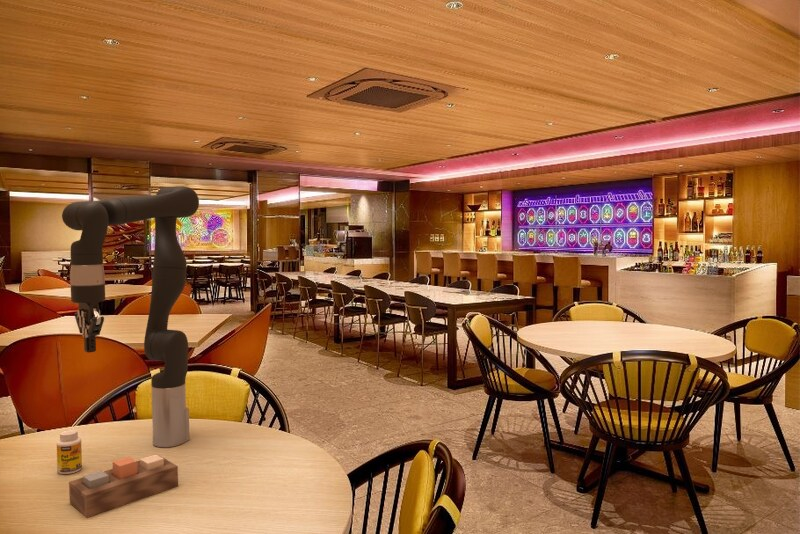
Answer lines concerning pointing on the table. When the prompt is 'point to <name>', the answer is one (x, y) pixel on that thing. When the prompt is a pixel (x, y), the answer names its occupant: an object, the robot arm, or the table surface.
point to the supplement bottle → (69, 452)
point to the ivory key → (151, 462)
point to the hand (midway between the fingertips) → (90, 351)
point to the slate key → (95, 479)
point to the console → (122, 489)
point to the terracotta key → (124, 467)
